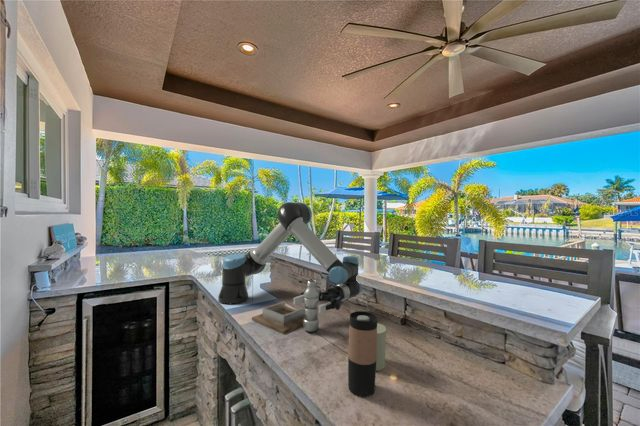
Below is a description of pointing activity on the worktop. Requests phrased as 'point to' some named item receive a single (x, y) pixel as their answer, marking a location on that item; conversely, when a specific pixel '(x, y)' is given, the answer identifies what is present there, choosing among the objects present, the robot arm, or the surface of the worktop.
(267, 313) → the grey square tray
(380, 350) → the can
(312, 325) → the plastic bottle
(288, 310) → the board
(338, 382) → the worktop surface
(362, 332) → the travel mug
